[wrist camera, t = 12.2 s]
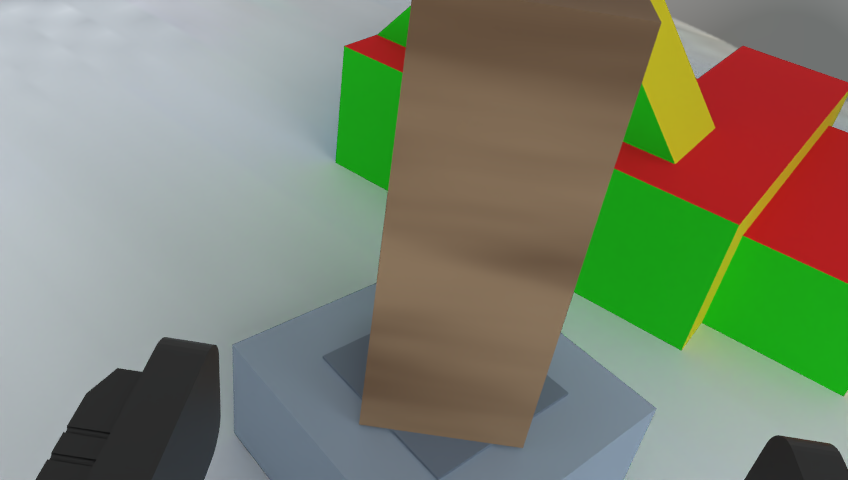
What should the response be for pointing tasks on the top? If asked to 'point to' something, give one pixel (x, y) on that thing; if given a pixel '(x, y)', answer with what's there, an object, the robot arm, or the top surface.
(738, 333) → the building blocks toy
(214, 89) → the top surface
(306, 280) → the top surface
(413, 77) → the pillar
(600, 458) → the plinth
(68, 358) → the top surface
